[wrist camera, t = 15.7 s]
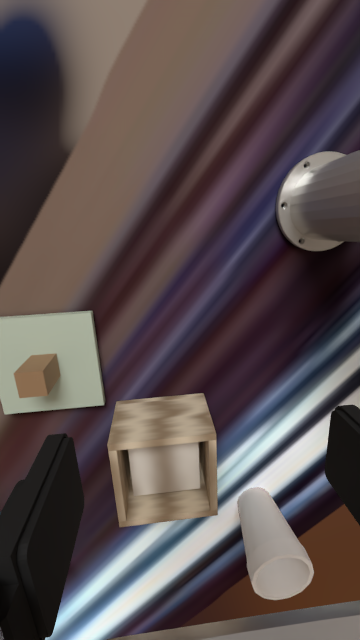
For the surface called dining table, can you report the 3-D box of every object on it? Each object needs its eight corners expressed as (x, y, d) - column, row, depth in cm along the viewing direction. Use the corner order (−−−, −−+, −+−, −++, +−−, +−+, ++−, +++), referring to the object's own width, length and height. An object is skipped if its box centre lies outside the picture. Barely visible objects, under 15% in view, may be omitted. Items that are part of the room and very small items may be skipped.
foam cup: (282, 510, 57) (318, 588, 45) (237, 525, 57) (260, 607, 45) (271, 474, 54) (307, 546, 42) (224, 490, 54) (245, 566, 42)
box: (203, 393, 48) (216, 433, 38) (205, 462, 52) (217, 515, 42) (116, 401, 47) (107, 444, 37) (125, 471, 51) (119, 527, 41)
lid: (93, 308, 43) (81, 325, 35) (106, 397, 47) (97, 428, 40) (-12, 316, 42) (-47, 334, 34) (11, 406, 46) (-16, 439, 38)
